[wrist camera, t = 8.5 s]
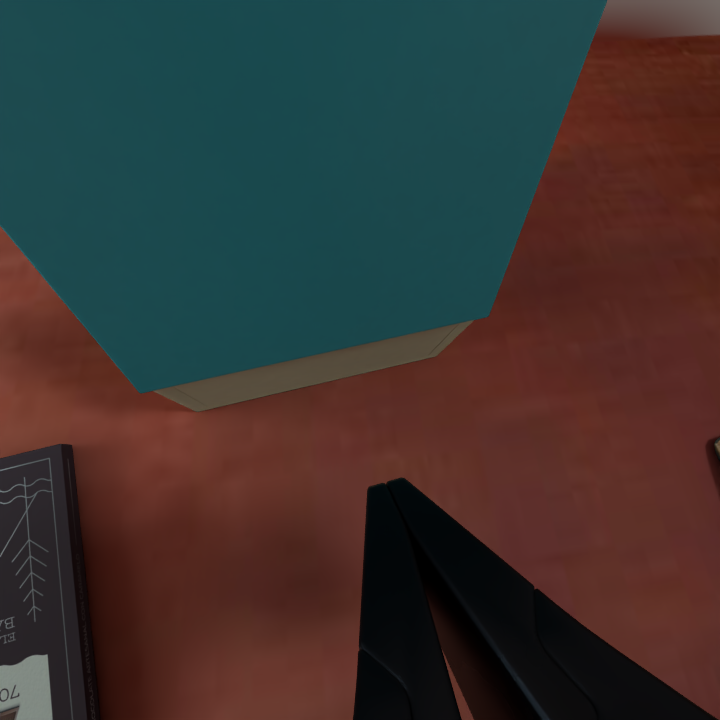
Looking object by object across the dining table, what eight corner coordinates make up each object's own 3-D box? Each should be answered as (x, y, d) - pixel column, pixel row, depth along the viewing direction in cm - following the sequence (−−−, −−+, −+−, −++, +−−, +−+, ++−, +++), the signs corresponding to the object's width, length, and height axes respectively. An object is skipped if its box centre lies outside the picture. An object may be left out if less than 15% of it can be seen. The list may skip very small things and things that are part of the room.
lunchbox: (168, 243, 24) (114, 160, 18) (389, 206, 27) (412, 121, 20) (196, 412, 22) (144, 388, 15) (436, 356, 24) (480, 314, 18)
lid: (-191, -46, 6) (-220, -34, 6) (612, -84, 8) (638, -78, 8) (140, 377, 15) (139, 394, 15) (480, 304, 18) (489, 317, 17)
